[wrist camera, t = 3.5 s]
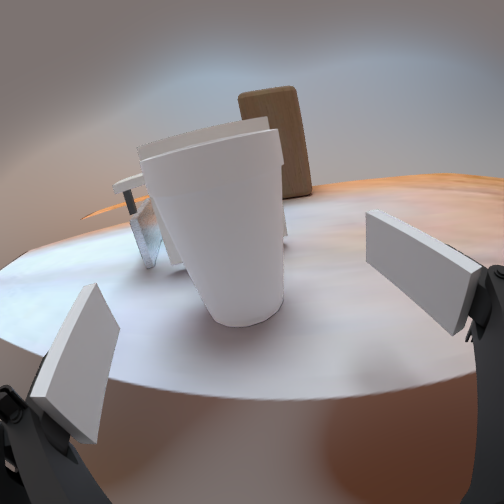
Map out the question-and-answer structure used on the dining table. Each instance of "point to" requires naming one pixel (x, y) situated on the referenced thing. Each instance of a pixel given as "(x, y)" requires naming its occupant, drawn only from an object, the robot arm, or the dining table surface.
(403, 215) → the dining table surface
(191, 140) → the gauge slider
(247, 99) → the wooden block
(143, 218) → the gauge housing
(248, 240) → the foam cup
